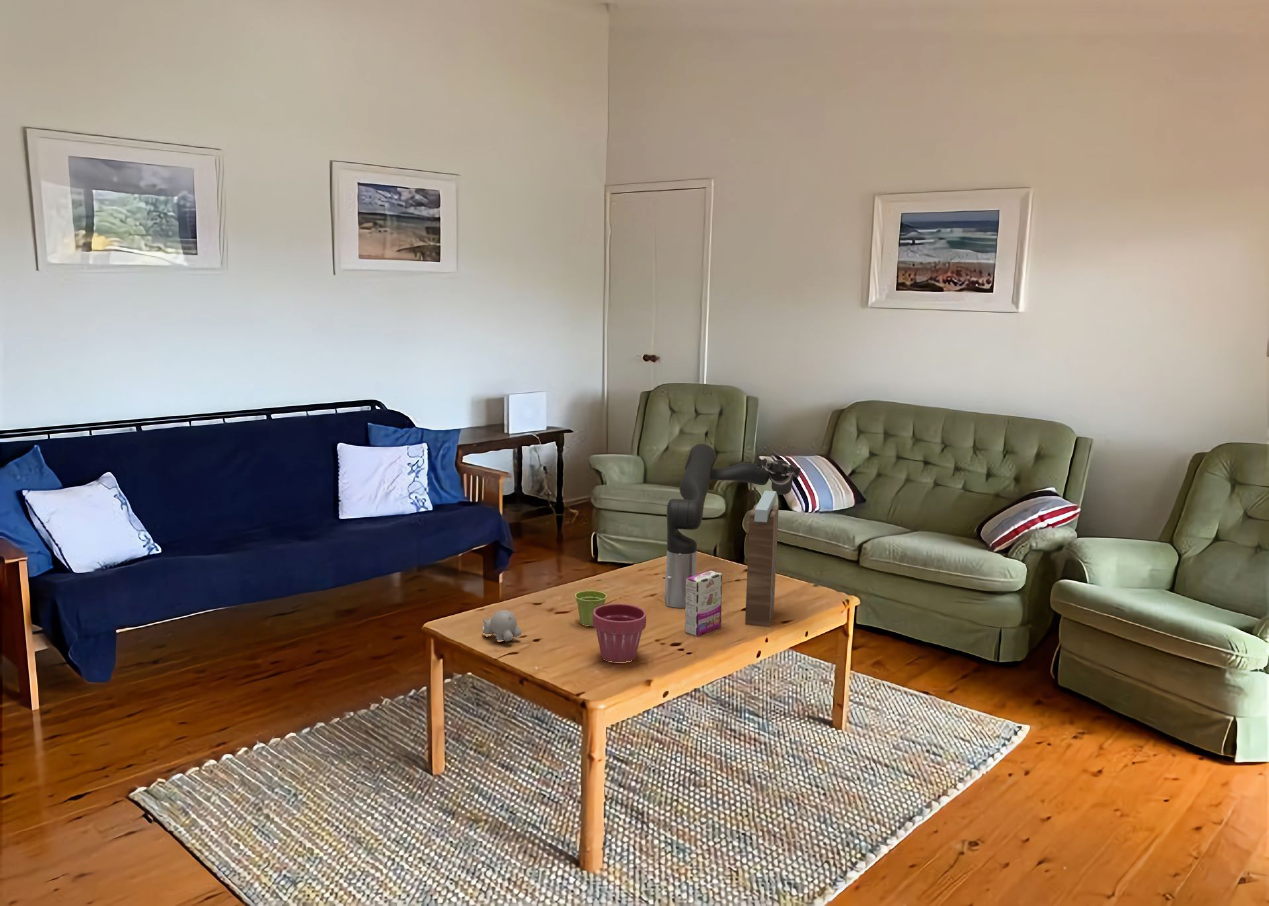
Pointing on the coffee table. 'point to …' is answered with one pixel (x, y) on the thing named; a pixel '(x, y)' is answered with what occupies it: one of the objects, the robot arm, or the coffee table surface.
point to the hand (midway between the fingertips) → (777, 464)
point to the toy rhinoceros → (502, 625)
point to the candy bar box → (703, 603)
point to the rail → (765, 506)
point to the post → (761, 569)
